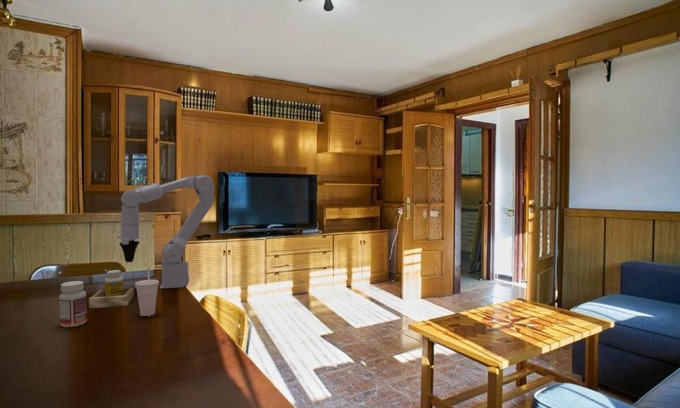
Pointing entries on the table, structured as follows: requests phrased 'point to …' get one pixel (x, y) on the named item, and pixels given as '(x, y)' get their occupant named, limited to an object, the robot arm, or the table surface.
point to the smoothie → (147, 295)
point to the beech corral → (110, 299)
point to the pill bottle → (72, 304)
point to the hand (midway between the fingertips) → (129, 261)
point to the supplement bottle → (114, 284)
